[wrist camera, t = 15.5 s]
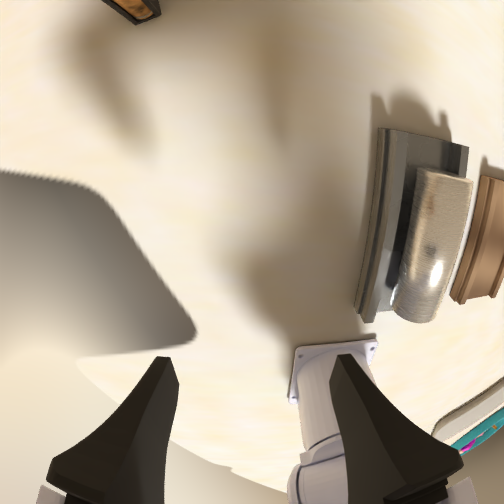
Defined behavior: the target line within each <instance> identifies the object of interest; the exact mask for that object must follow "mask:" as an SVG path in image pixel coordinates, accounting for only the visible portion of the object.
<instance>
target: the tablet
mask: <svg viewBox="0 0 504 504" xmlns="http://www.w3.org/2000/svg"><path fill="white" fill-rule="evenodd" d="M503 402H504V379H503V380H502V381H500V382H499V383H498V384H496V385H495V386H494V387H492V388H491V389H490V390H488V391H487V392H485V393H484V394H482V395H481V396H479V397H478V398H476V399H475V400H473V401H472V402H470V403H469V404H467V405H465V406H464V407H462V408H460V409H459V410H457V411H455V412H454V413H452V414H450V415H448V416H447V417H445V418H444V419H442V420H441V421H440V422H439V423H438V424H437V425H436V427H435V429H434V432H433V434H432V437H434V438H436V439H437V440H439V441H441V442H443V441H445V440H447V439H449V438H450V437H452V436H454V435H456V434H457V433H459V432H461V431H462V430H464V429H466V428H467V427H469V426H470V425H472V424H474V423H475V422H477V421H478V420H480V419H481V418H483V417H484V416H486V415H487V414H488V413H490V412H491V411H493V410H494V409H495V408H497V407H498V406H499V405H501V404H502V403H503Z"/></svg>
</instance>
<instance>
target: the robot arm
mask: <svg viewBox="0 0 504 504" xmlns="http://www.w3.org/2000/svg"><path fill="white" fill-rule="evenodd" d="M377 346H378V341H377V340H376V339H370V340H362V341H354V342H345V343H335V344H324V345H312V346H300V347H298V348H297V349H296V351H295V358H294V366H293V373H292V380H291V386H290V393H289V399H288V401H289V403H290V404H298V408H299V416H300V423H301V430H302V438H303V444H304V448H305V450H306V451H307V452H304V453H301V454H300V459H301V463H300V464H298V465H296V466H295V467H294V468H293V470H292V472H291V475H290V477H289V479H288V484H287V496H288V501H289V504H478V500H477V497H476V494H475V490H474V487H473V484H472V481H471V478H470V477H468V478H466V479H464V480H462V481H461V482H459V483H457V484H455V485H454V486H452V487H450V488H448V489H446V487H445V485H447V484H448V481H447V478H448V477H449V476H451V475H452V474H454V473H455V472H457V471H458V470H460V469H461V468H462V467H463V466H464V464H463V461H462V458H461V455H460V453H459V451H458V450H457V449H455V448H453V447H451V446H449V445H447V444H445V443H442V442H441V441H439V440H437V439H436V438H434V437H432V436H431V435H429V434H428V433H426V432H425V431H423V430H422V429H421V428H419V427H418V426H416V425H415V424H414V423H413V422H411V421H410V420H409V419H408V418H407V417H405V416H404V415H403V414H402V413H401V412H400V411H399V410H398V409H397V408H396V407H395V406H394V405H393V404H392V403H391V402H390V401H389V400H388V399H387V398H386V397H385V396H384V395H383V394H382V392H381V391H380V390H379V389H378V388H377V386H376V383H375V381H374V378H373V375H372V373H371V370H370V368H369V366H370V363H371V361H372V358H373V356H374V353H375V351H376V348H377ZM178 391H179V382H178V379H177V376H176V373H175V370H174V367H173V364H172V361H171V358H170V357H160V356H157V357H156V358H155V359H154V361H153V362H152V364H151V365H150V367H149V368H148V370H147V371H146V372H145V374H144V375H143V377H142V378H141V380H140V381H139V382H138V384H137V385H136V386H135V388H134V389H133V390H132V392H131V393H130V394H129V395H128V397H127V398H126V399H125V400H124V401H123V403H122V404H121V405H120V406H119V407H118V409H117V410H116V411H115V412H114V413H113V414H112V415H111V416H110V417H109V418H108V419H107V420H106V421H105V422H104V423H103V424H102V425H100V426H99V427H98V428H97V429H96V430H95V431H94V432H92V433H91V434H90V435H89V436H87V437H86V438H85V439H83V440H82V441H80V442H79V443H78V444H76V445H75V446H73V447H72V448H70V449H68V450H67V451H65V452H63V453H61V454H59V455H58V456H56V457H54V458H53V459H52V461H51V464H50V467H49V470H48V474H47V477H46V480H47V482H49V483H50V484H52V485H53V486H55V487H57V488H59V489H61V490H62V491H64V492H66V493H67V494H66V497H65V496H63V495H61V494H59V493H57V492H55V491H53V490H51V489H49V488H47V487H45V486H43V485H42V486H41V487H40V491H39V494H38V498H37V502H36V504H164V480H165V464H166V453H167V447H168V441H169V437H170V433H171V428H172V424H173V420H174V415H175V411H176V407H177V400H178Z"/></svg>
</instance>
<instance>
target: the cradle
mask: <svg viewBox="0 0 504 504" xmlns="http://www.w3.org/2000/svg"><path fill="white" fill-rule="evenodd" d="M468 153H469V147H467V146H463V145H460V144H456V143H452V142H448V141H444V140H440V139H436V138H431V137H427V136H422V135H418V134H413V133H408V132H403V131H398V130H391V129H384V128H378V147H377V162H376V174H375V184H374V193H373V202H372V210H371V217H370V224H369V231H368V237H367V243H366V249H365V255H364V260H363V266H362V271H361V276H360V281H359V285H358V290H357V294H356V299H355V303H354V308H355V310H356V312H357V314H360V316H361V318H362V320H363V322H364V323H373V322H374V319H375V315H376V312H383V311H391V310H393V309H392V307H391V304H390V300H391V297H392V293H393V290H394V286H395V283H396V279H397V275H398V271H399V268H400V264H401V259H402V255H403V251H404V246H405V242H406V237H407V232H408V227H409V222H410V216H411V210H412V204H413V197H414V190H415V183H416V174H417V167H429V168H435V169H439V170H443V171H447V172H451V173H454V174H457V175H460V176H463V177H465V178H466V171H467V163H468Z"/></svg>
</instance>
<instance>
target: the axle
mask: <svg viewBox="0 0 504 504" xmlns="http://www.w3.org/2000/svg"><path fill="white" fill-rule="evenodd" d="M472 189H473V181H471V180H469V179H467V178H465V177H463V176H460V175H457V174H454V173H451V172H447V171H443V170H439V169H435V168H429V167H417V174H416V183H415V190H414V197H413V204H412V210H411V216H410V222H409V227H408V232H407V237H406V242H405V246H404V251H403V255H402V259H401V264H400V268H399V271H398V275H397V279H396V283H395V286H394V290H393V293H392V297H391V300H390V304H391V307H392V309H393V310H394V311H395V313H396V314H398V315H399V316H400V317H402V318H403V319H405V320H408V321H410V322H414V323H427V322H430V321H432V320H433V319H434V318H435V316H436V314H437V312H438V309H439V307H440V304H441V302H442V299H443V297H444V294H445V291H446V288H447V286H448V283H449V280H450V277H451V274H452V271H453V268H454V265H455V262H456V258H457V255H458V252H459V248H460V244H461V241H462V237H463V233H464V229H465V225H466V220H467V216H468V211H469V206H470V201H471V195H472Z"/></svg>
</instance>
